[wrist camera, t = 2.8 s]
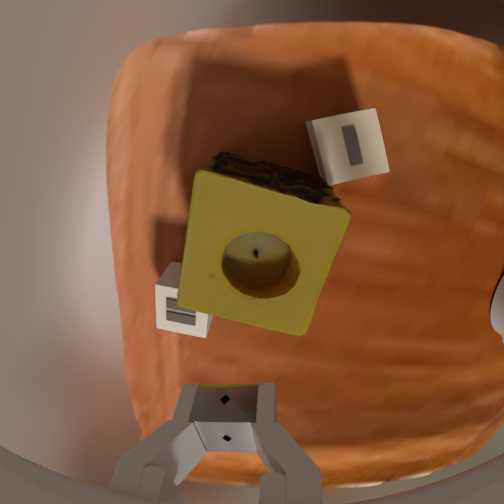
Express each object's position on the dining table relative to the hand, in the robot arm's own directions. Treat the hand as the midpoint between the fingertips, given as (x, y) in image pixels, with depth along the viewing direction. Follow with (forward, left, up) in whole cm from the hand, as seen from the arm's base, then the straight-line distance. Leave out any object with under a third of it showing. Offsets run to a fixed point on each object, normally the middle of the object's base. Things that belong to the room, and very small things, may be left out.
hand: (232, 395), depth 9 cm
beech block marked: (-8, -6, -21) cm, 23 cm away
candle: (0, 0, -21) cm, 21 cm away
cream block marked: (+8, +7, -21) cm, 23 cm away
